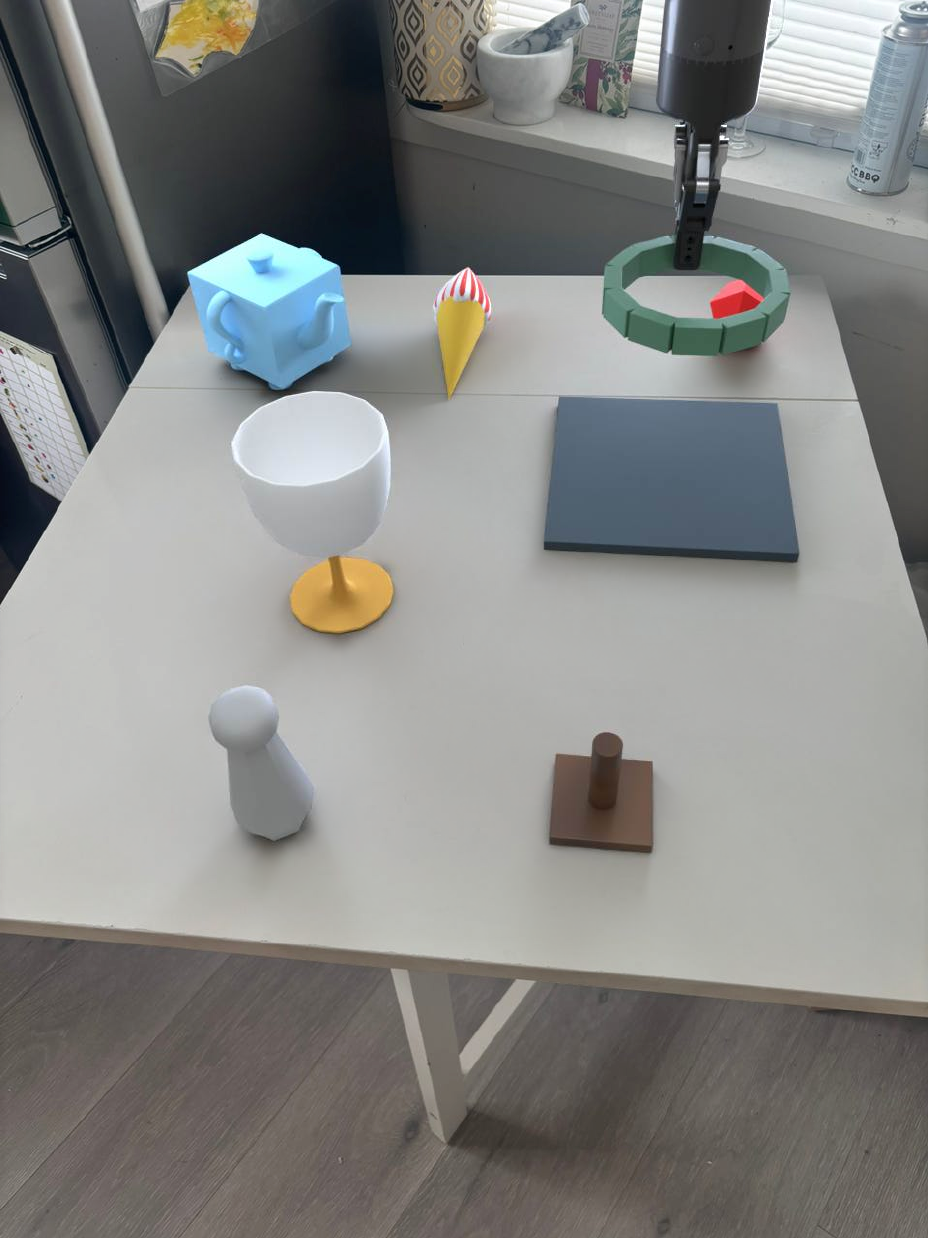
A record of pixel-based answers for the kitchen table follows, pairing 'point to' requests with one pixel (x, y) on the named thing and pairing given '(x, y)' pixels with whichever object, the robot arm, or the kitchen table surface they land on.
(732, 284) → the red faceted gem
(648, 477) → the mat
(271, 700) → the white game pawn
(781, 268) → the ring
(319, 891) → the kitchen table surface
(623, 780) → the ring toss
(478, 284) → the ice cream cone
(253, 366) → the teapot
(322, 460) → the cup
